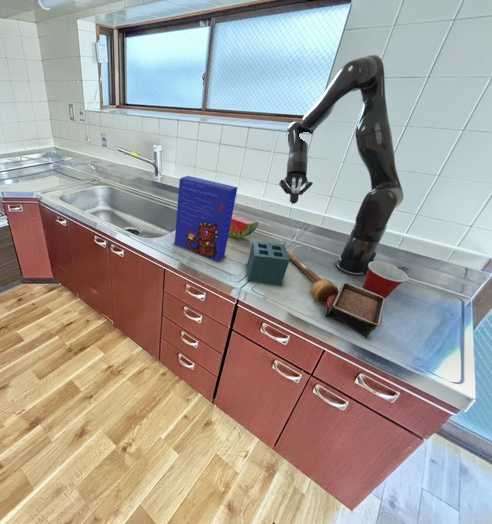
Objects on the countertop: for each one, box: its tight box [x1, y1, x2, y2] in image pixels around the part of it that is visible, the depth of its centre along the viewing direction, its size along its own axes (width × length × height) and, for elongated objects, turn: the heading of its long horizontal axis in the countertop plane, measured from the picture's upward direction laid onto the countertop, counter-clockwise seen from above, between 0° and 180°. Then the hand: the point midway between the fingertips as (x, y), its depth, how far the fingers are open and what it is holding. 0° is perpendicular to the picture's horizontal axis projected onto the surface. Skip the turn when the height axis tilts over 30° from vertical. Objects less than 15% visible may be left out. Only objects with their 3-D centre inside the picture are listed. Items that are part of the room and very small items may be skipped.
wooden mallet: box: [286, 250, 339, 304], centre depth 108 cm, size 8×7×32 cm
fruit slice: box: [228, 213, 259, 239], centre depth 137 cm, size 26×6×10 cm, turn 38°
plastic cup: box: [362, 260, 409, 300], centre depth 95 cm, size 11×11×12 cm
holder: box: [246, 240, 291, 287], centre depth 107 cm, size 11×11×11 cm
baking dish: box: [324, 282, 386, 339], centre depth 87 cm, size 14×18×10 cm
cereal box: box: [174, 175, 238, 263], centre depth 117 cm, size 22×6×30 cm, turn 48°
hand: (293, 202), depth 118 cm, fingers closed
